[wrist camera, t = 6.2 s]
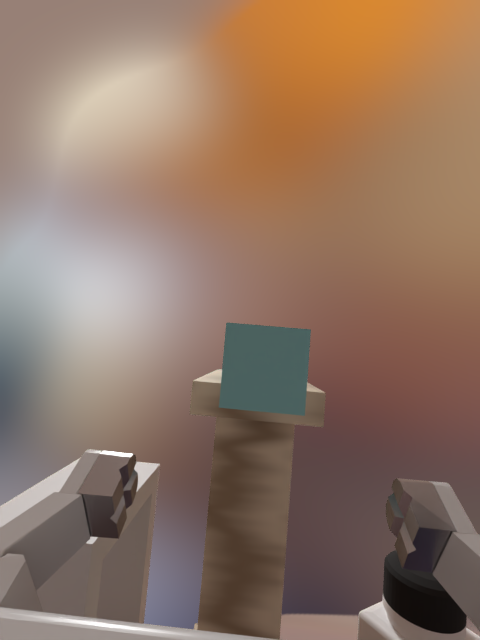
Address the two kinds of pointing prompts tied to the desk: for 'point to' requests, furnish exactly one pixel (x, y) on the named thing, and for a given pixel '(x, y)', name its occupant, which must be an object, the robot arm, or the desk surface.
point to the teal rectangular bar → (265, 369)
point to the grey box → (100, 556)
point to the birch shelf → (247, 511)
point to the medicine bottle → (413, 609)
